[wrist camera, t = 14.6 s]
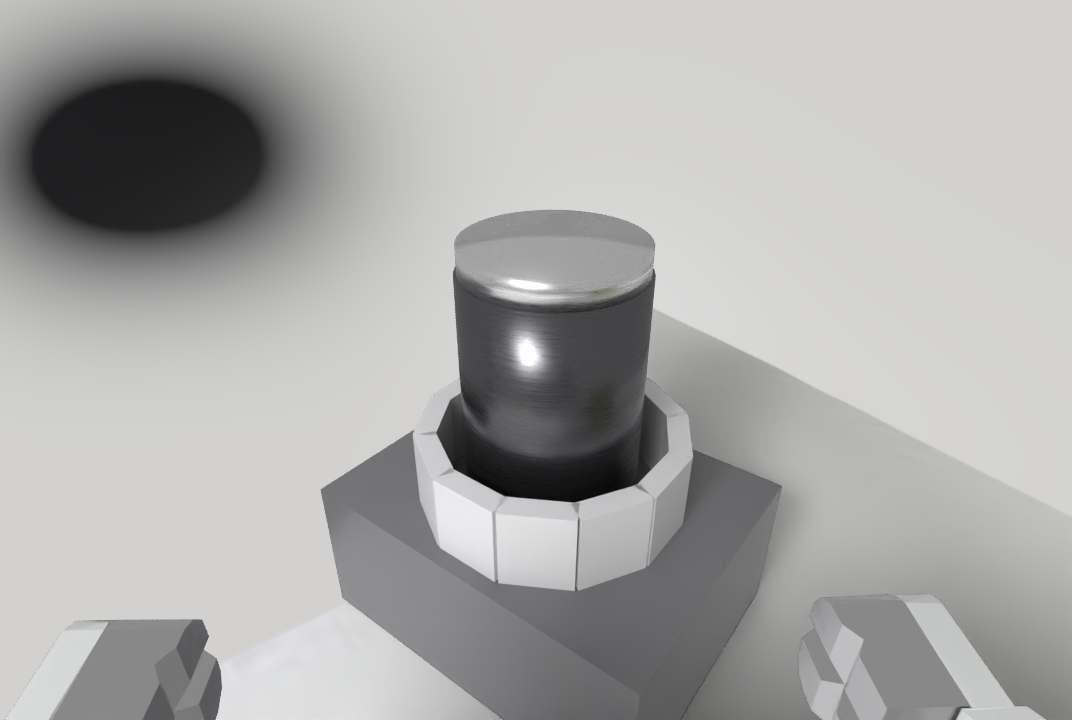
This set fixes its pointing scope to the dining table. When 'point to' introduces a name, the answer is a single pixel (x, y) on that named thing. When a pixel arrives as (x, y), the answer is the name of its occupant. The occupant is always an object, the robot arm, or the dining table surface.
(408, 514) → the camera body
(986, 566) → the dining table surface
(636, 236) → the dark grey metallic cylinder
